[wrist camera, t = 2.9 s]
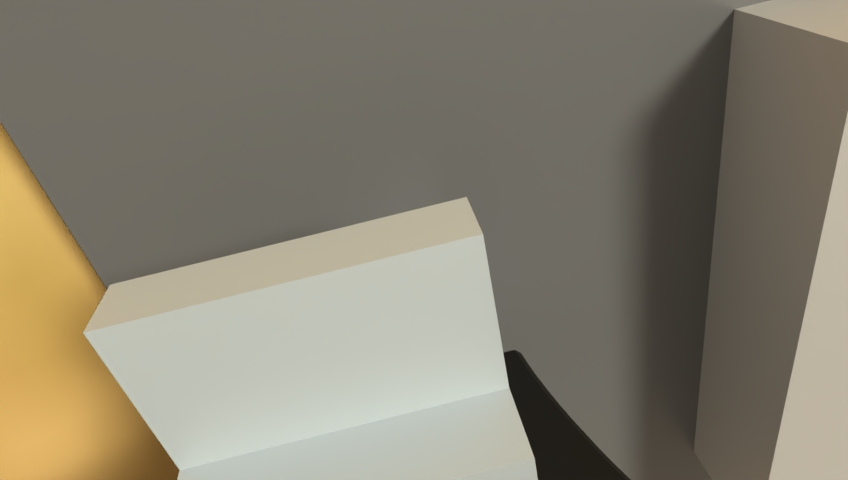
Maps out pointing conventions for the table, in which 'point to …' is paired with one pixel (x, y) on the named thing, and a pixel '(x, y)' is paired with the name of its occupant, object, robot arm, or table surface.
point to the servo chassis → (497, 182)
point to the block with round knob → (325, 357)
